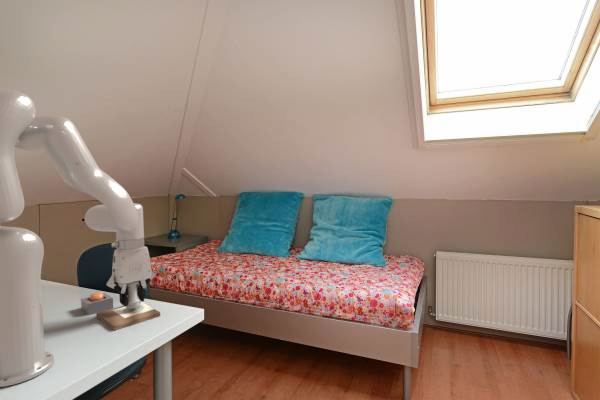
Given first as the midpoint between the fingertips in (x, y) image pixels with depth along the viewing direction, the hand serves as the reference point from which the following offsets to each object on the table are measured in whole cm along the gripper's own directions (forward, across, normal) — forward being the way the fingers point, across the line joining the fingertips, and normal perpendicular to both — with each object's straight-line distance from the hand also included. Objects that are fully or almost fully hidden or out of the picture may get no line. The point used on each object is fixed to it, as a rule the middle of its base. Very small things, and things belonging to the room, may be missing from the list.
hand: (132, 302), depth 105 cm
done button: (+1, -6, +13) cm, 14 cm away
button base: (+4, -6, +13) cm, 15 cm away
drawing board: (+4, -2, -1) cm, 4 cm away
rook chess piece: (+1, 0, 0) cm, 1 cm away
